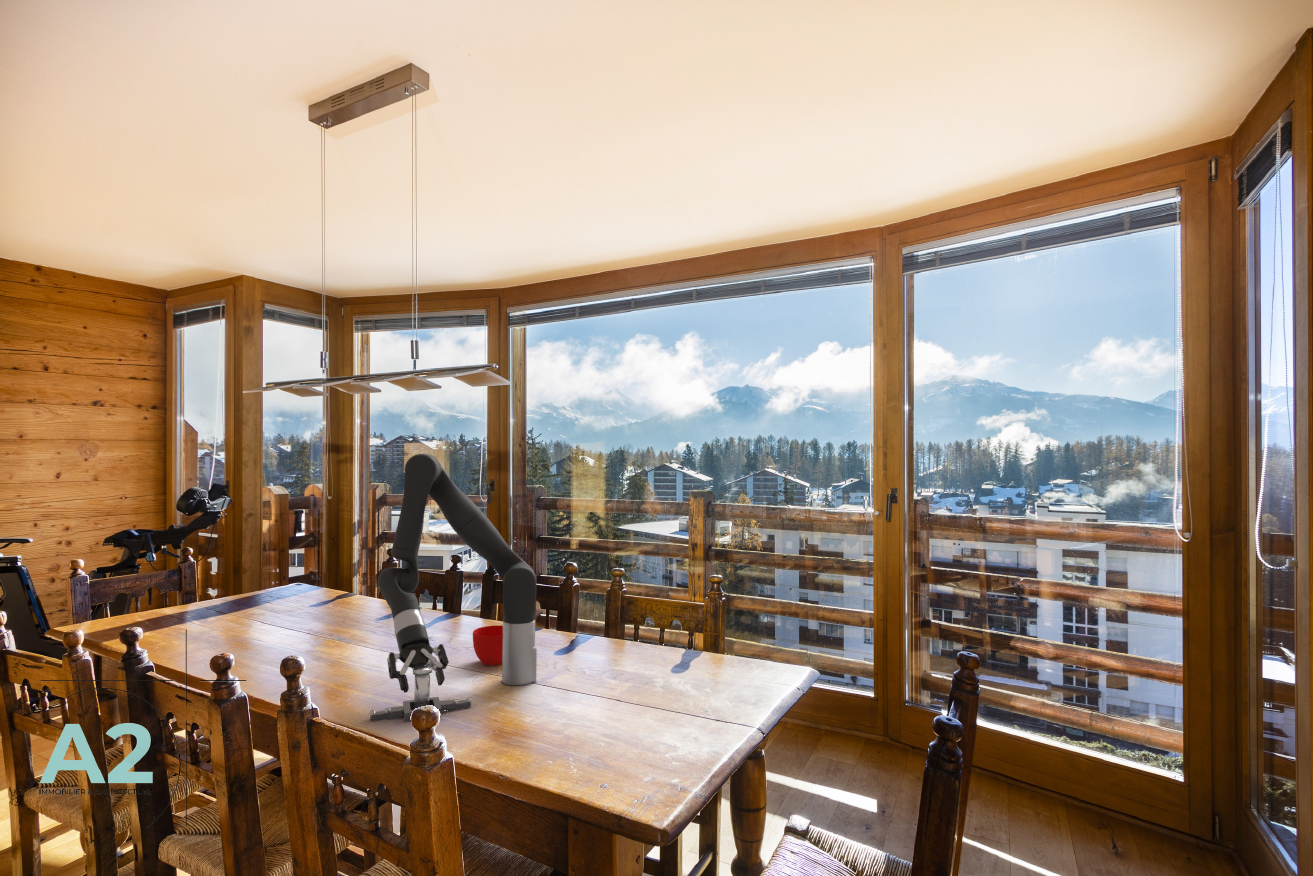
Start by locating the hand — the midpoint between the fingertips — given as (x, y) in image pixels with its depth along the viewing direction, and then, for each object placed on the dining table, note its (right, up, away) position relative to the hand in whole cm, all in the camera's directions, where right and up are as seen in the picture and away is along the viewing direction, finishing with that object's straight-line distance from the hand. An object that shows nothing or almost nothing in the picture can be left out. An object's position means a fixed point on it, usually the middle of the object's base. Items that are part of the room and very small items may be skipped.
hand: (424, 687), depth 161 cm
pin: (-1, -7, +1) cm, 7 cm away
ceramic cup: (+8, -8, +41) cm, 42 cm away
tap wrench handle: (-1, -7, +1) cm, 7 cm away
